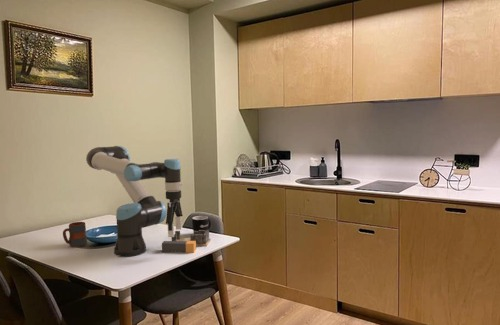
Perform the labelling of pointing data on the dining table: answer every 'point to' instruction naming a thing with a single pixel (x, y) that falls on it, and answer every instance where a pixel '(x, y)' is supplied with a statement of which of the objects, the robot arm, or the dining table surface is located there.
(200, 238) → the grey block assembly
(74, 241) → the mug
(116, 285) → the dining table surface
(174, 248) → the cable bar
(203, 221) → the mug
